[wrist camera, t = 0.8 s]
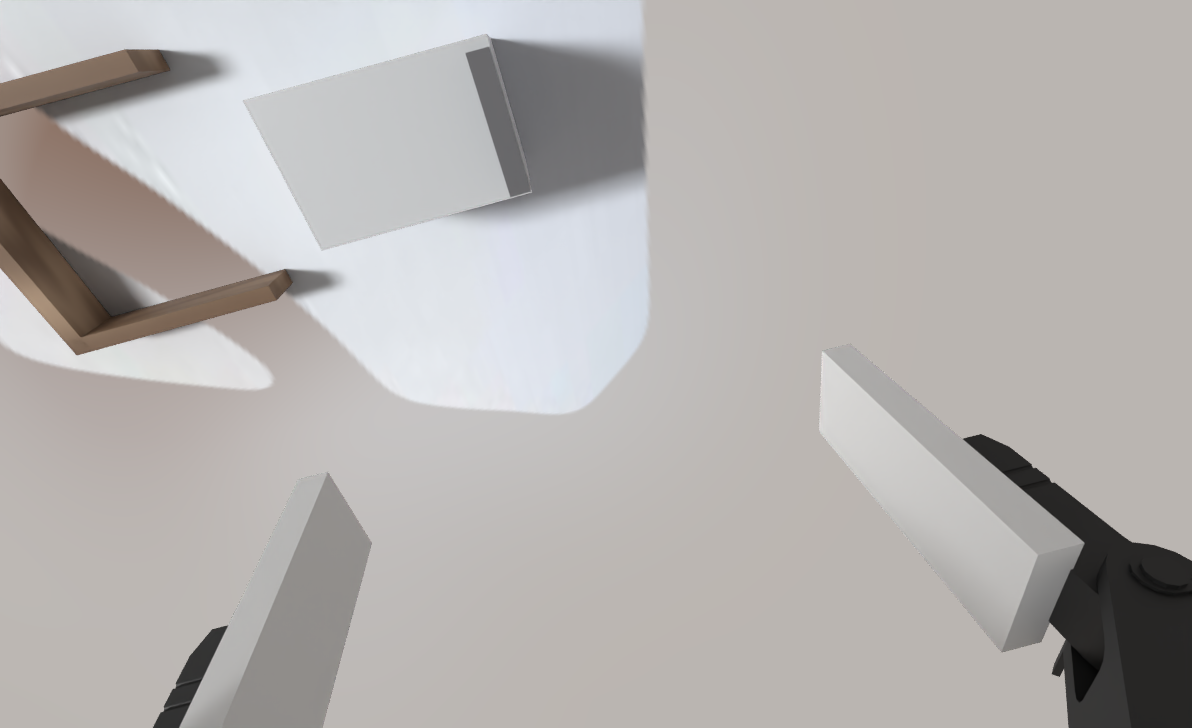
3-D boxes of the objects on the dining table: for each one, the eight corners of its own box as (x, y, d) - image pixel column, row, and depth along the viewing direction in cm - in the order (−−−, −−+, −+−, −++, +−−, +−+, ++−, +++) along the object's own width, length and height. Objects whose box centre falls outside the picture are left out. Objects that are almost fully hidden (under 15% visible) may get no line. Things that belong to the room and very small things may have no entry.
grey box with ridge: (307, 88, 31) (222, 104, 22) (491, 38, 31) (484, 32, 22) (362, 206, 35) (309, 264, 25) (526, 161, 35) (533, 201, 25)
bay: (-75, 113, 29) (-131, 119, 26) (158, 49, 29) (125, 49, 26) (107, 333, 36) (76, 355, 34) (293, 282, 36) (276, 300, 34)
